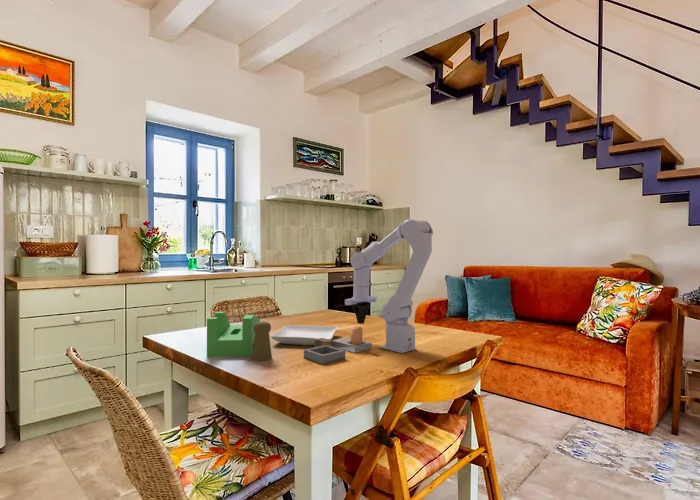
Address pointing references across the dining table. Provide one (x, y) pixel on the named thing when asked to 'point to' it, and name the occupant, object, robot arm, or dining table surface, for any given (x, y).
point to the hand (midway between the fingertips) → (360, 323)
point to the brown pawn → (261, 342)
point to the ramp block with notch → (230, 336)
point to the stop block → (322, 342)
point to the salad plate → (303, 334)
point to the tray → (324, 354)
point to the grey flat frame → (351, 345)
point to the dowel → (356, 335)
